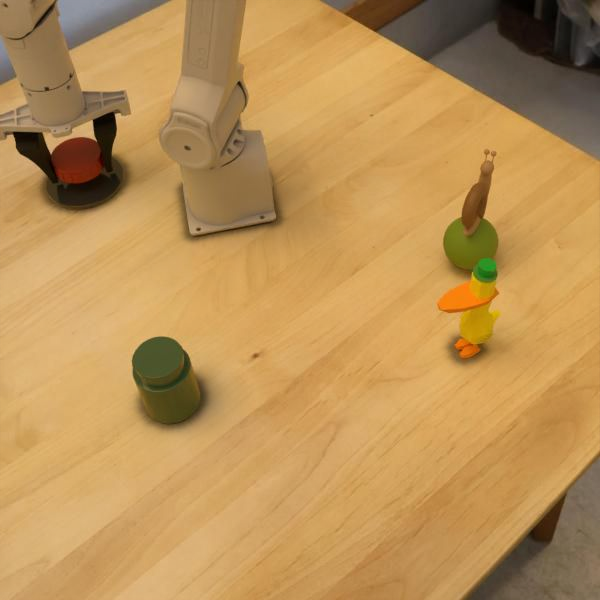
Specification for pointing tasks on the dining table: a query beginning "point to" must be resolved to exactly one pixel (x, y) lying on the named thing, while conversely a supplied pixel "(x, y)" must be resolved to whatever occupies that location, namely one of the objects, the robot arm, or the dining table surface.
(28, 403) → the dining table surface
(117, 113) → the robot arm
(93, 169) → the lid
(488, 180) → the snail figurine
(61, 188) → the coaster
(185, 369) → the jar
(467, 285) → the toy figure
